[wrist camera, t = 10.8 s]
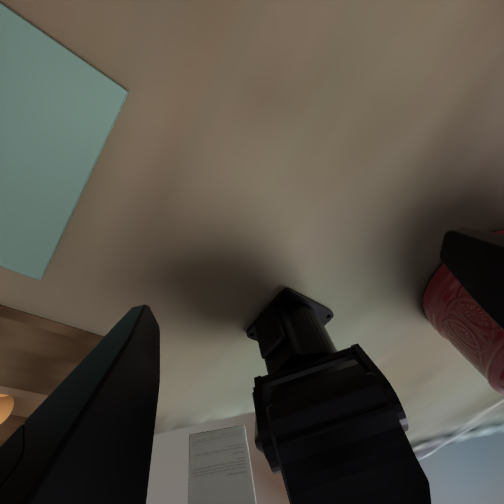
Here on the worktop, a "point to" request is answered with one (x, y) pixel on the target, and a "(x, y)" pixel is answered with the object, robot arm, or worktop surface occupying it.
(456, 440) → the worktop surface
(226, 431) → the supplement box
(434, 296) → the canister
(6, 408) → the ball
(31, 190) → the lid
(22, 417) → the box
